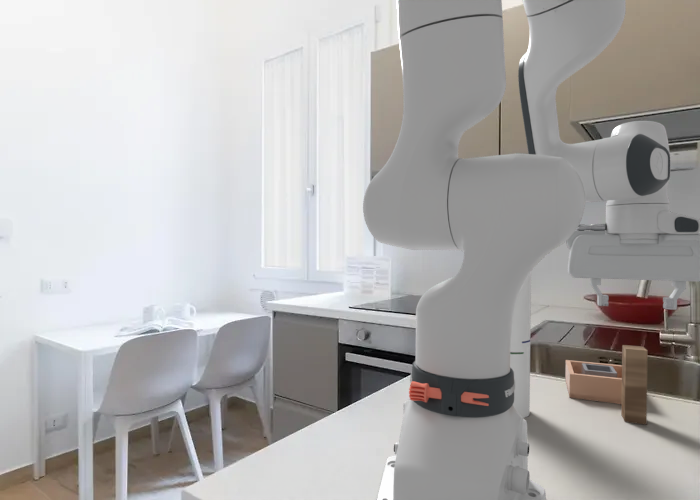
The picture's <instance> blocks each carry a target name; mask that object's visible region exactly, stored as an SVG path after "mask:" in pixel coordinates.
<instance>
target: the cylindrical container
mask: <svg viewBox="0 0 700 500" xmlns="http://www.w3.org/2000/svg"><path fill="white" fill-rule="evenodd" d="M531 299H532V271H531V272H530V274H529V275H528V276H527V278H526V280H525V281H524V283H523V285H522V287H521V289H520V291H519V294H518V297H517V300H516V303H515V307H514V313H513V322H512V333H511V350H510V368H511V369H512V370H513V371H514V380H515V391H514V403H513V406H514V408H515V410H516V411H517V412H518V413H519V414H520V415H521V416H522V417H523V419H524V418H527V417H528V416H529V415H530V411H531V410H530V408H531V407H530V403H531V400H530V399H531V395H530V394H531V393H530V392H531V391H530V390H531V324H532V323H531V322H532V321H531V313H532V310H531V309H532V301H531Z"/></svg>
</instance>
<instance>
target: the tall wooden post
mask: <svg viewBox="0 0 700 500" xmlns="http://www.w3.org/2000/svg"><path fill="white" fill-rule="evenodd" d="M621 353H622V354H621V357H622V358H621V365H622V404H621V409H620V410H621V417H622V419H623V421H624V422H625V423H631V424H639V425H645V426H646V425H647V420H648V419H647V414H648V412H647V411H648V410H647V409H648V402H647V401H648V349H647V348H646V347H644V346H640V345H628V344H622V346H621Z"/></svg>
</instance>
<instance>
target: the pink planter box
mask: <svg viewBox="0 0 700 500" xmlns="http://www.w3.org/2000/svg"><path fill="white" fill-rule="evenodd" d="M564 380H565V385H566V389H567V394H568V397H569V398H571V399H576V400H577V399H579V400H586V401H593V402H594V401H595V402H601V403H609V404H617V405H618V404H619V405H622V364H612V363H602V362H601V363H600V362H592V361H591V362H590V361H580V360H573V359H572V360H569V359H565V379H564Z"/></svg>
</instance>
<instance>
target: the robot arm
mask: <svg viewBox="0 0 700 500" xmlns="http://www.w3.org/2000/svg"><path fill="white" fill-rule="evenodd" d="M502 1H503V0H396V9H397V15H396V17H397V31H398V39H399V40H398V41H399V51H400V61H401V75H402V93H403V94H402V96H403V97H402V98H403V110H402V119H401V120H402V121H401V126H400V130H399V134H398V138H397V141H396V143H395V146H394V148H393V150H392V152H391V154H390V157H389V158H388V159H387V161H386V163H385V164H384V165H383V166H382V168H380V170H379V171H378V172H377V173H376V174H375V175H374V177H372V178H371V180H370V182H369V183H368V186H367V187H366V190H365V192H364V197H363V201H362V202H363V203H362V211H363V218H364V222H365V224H366V226H367V227H366V228H367V229H368V231H369V232H370V234H371V236H372V237H373V238H374V239H375V240H376V241H377V242H379V243H381V244H385V245H389V246H392V247H395V248H396V247H397V248H401V249H406V250H409V251H410V250H411V251H460V252H463V260H462V263H461V267H460V269H459V270H458V273H457V274H456V275H454V276H452V277H450V278H447V279H445V280H443V281H440V282H439V283H437V284H435V285H433V286H431V287H430V288H429V289H427V290H426V291H425V292H424V293H423V294H422V295H421V297H420V298H419V300H418V302H417V305H416V307H415V360H414V361H413V362H412V366H411V372H410V377H409V383H410V384H409V388H408V390H409V391H408V394H409V395H408V397H409V399H407V400H406V401H404V402H403V404H402V405H403V408H402V409H403V414H402V415H403V416H402V422H401V425H400V426H401V427H400V433H399V438H398V441H396V442H395V443H394V444H393V452H394V455H389V456H388V457H387V458H386V459H385V463H384V467H383V471H382V476H381V479H380V483H379V487H378V490H377V495H376V500H547V494H546V489H545V488H544V486H542V485H541V484H539V483H537V482H536V481H534V480H533V479H532V480H531V478H530V477H531V476H530V471H529V467H528V466H529V465H528V463H529V458H528V457H529V455H530V443H529V442H528V422H527V420H526V419H524V418H523V417H522V416H521V415H520V414H519V413H518V412H517V411H516V410H515V408H514V406H513V403H514V391H515V380H514V371H513V370H512V369H511V368H510V350H511V333H512V322H513V313H514V307H515V303H516V300H517V297H518V294H519V291H520V289H521V287H522V285H523V283H524V281H525V280H526V278H527V276H528V275H529V274H530V272H531V273H532V271H533V270H534V269H535V267H536V266H537V265H538V264H539V263H540V262H541V261H542V260H543V259H544V258H545V257H546V256H547V255H549V254H550V253H551V252H553V251H554V250H556V249H557V248H558V247H560V246H561V245H563V244H564V243H565V244H566V247H567V248H568V250H569V253H568V259H567V261H568V262H567V274H568V275H570V277H572V278H574V279H589V281H590V282H589V285H590V286H591V288H592V290H593V291H594V293H595V295H596V296H597V297H596V299H597V300H596V305H597V306H600V307H609V295H607V294H603V293H602V291H601V290H600V288H599V286H601V285H602V280H629V281H630V280H631V281H632V280H633V281H635V280H637V281H638V280H639V281H666V282H667V281H669V282H671V287H672V288H674V289H673V291H672V293H670V295H669V296H668V297H667V296H663V297H662V303H663V304H662V308H663V309H665V310H674V311H675V310H677V309H678V299H679V298H680V297H681V296H682V294H683V293H684V292H685V290H686V289H687V282H700V218H697V217H694V216H689V215H685V214H681V213H678V212H677V213H676V212H673V211H671V202H670V198H669V194H668V186H669V182H670V180H671V157H670V156H671V154H670V145H669V139H668V134H667V130H666V127H665V125H663V124H662V123H660V122H658V121H654V120H648V119H647V120H646V119H645V120H644V119H642V120H639V119H638V120H631V121H626V122H623V123H621V124H619V125H617V126H616V127H614V128H613V129H612V131H611V134H610V136H609V137H603V138H601V139H595V140H589V141H583V142H577V143H566V142H564V141H563V140H562V139H561V136H560V127H559V126H560V125H559V118H558V117H559V116H558V111H557V110H558V109H557V101H556V100H557V99H556V96H557V90H558V88H559V86H560V85H561V84H562V83H564V81H566V80H567V79H569V78H570V77H571V76H573V75H574V74H576V73H577V72H578V71H580V70H581V69H583V68H584V67H585V66H587V65H588V64H590V63H591V62H592V61H594V60H595V59H596V58H597V57H598V56H599V55H601V53H603V52H604V50H605V49H607V47H608V46H610V44H611V43H612V42H613V40H614V39H615V38H616V36H617V34H618V33H619V32H620V30H621V27H622V25H623V22H624V20H625V17H626V12H627V11H626V10H627V8H626V6H627V5H626V0H522V1H521V2H522V5H523V8H524V13H525V15H526V18H527V23H528V29H529V40H528V48H527V51H526V52H525V53H524V54H523V55H522V57H521V58H520V60H519V64H518V75H517V77H518V79H517V80H518V92H519V99H520V106H521V113H522V120H523V126H524V132H525V140H526V147H527V153H521V152H520V153H517V152H516V153H508V154H497V155H489V156H480V157H470V158H469V157H468V158H462V157H459V146H460V141H461V139H462V136H464V133H465V132H467V131H468V130H470V129H471V128H473V127H474V126H476V125H477V124H478V123H480V122H482V121H483V120H484V119H486V118H487V117H488V116H489V115H491V114H492V113H493V112H494V111H495V110H496V108H498V106H500V104H501V102H502V100H503V98H504V96H505V92H506V88H507V78H506V72H507V71H506V55H505V38H504V17H503V16H504V15H503V3H502ZM598 202H599V203H603V202H606V203H605V223H594V224H582V223H581V221H582V219H583V217H584V213H585V209H586V203H598Z"/></svg>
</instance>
